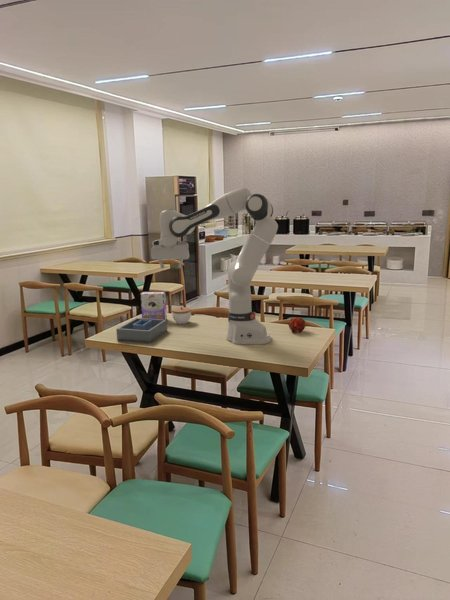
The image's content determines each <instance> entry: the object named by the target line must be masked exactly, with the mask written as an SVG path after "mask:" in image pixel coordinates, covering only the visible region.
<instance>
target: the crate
mask: <svg viewBox="0 0 450 600" xmlns="http://www.w3.org/2000/svg"><path fill="white" fill-rule="evenodd" d="M140 320H152V328H151V329H149V330H134V329H133V324H135V323H136V322H138V321H140ZM166 332H168V319H166V320H161V319H145V318H142V317H135V318H134V319H132V320H130V321H128V322H126V323H125V324H123V325H121V326H119V327H118V328H116V341H121V342H135V343H144V344H145V343H147V344H150V343H152V342H153V341H155V340H156V339H157V338H159V337H161V336H162V335H163V334H164V333H166ZM161 334H162V335H161ZM154 339H155V340H154Z"/></svg>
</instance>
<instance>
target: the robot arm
mask: <svg viewBox="0 0 450 600" xmlns="http://www.w3.org/2000/svg"><path fill="white" fill-rule="evenodd" d="M245 211H246V212H247V214H248V215H249V216H250V217H251V218H252V219H253V220H254V221H255V224H254V227H253V229H252V230H251V232H250V234H249V235H248V237H247V239H246V240H245V242H244V243H243V245H242V247H241V249H240V252H239V254H238V255H237V259H236V260H233V261H232V262H231V263H230V264H229V265H228V267H227V285H228V289H227V290H228V313H227V320H228V321H227V322H228V329H227V334H226V340H227V341H229V342H231V343H232V344H234V345H266V344H269V342H271V341H272V335H271V334H268V332H267V329H266V326H265V325H264V324H263V323H262V322H261V321H259V320H258V319H257V318H256V312H255V311H252V292H251V289H252V288H251V282H252V280H253V278H254V276H255V274H256V272H257V270H258V268H259V265H260V264H261V261H262V259H263V257H264V256H265V254H266V253H267V251H268V249H269V248H270V246H271V244H272V243H273V240H274V239H275V237H276V236H277V235H276V234H277V232H278V229H279V224H278V223H277V221H276V220H275V219H274V218H272V216H273V214H274V207H273V204H272V203H271V202H270V200H269V199H268V198H267V197H266V196H265V195H262V194H261V193H253V194H252V193H251V191H250V189H248V188H246V187H240V188H239V187H238V188H236V189H233V190H230V191H229V192H226V193H224V194H222V195H220V196H219V197H217V198H216V199H213V201H212V202H210V203H208V204H207V205H206V206H204V207H203V208H201V209H199V210H197V211H195V212H192V213H190V214H187V215H186V214H183V213H181V212H178V211H177V210H175V208H174V209H173V208H170V209H164V210H162V211H161V212H160V213H159V230H160V235H159V236H160V238H157V239H156V240H153V241H152V242H151V245H152V247H151V248H150V258H151V259H152V260H157V261H158V264H159V265H160V269H164V268H165V264H164V263H163V262H162V261H163V260H168V261H169V260H174V261H175V260H178V261H179V262H178V263H179V264H177V269H182V264H183V262H184V261H185V260H188V259H189V258H190V250H189V248H190V246H189V242H187V241H185V240H184V241H181V240H179V238H183V237H184V236H187V235H190V234H192V233H193V232H194V231H195V230H196V229H195V228H196V227H197V226H199V225H202V224H204V223H207V222H208V221H209V222H210V221H212V220H213V221H214V220H219V219H225V218H229V217H231V216H233V215H236V214H238V213H240V212H245Z"/></svg>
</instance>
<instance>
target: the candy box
mask: <svg viewBox="0 0 450 600" xmlns="http://www.w3.org/2000/svg"><path fill="white" fill-rule="evenodd" d="M166 295H167V294H166V291H142V292H141V293H140V294H139V296H140V308H141V318H145V319H161V320H168V319H167V318H168V316H167V298H166Z"/></svg>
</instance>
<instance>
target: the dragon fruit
mask: <svg viewBox="0 0 450 600" xmlns="http://www.w3.org/2000/svg"><path fill="white" fill-rule="evenodd" d="M305 324H306V320H305V319H303V318H302V317H298V316H295V317H293V318H290V320H289V322H288V327H289V330H291V333H293V334H296V333H302V332H303V331H304V330H305V328H306V327H307V326H306V325H305Z"/></svg>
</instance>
